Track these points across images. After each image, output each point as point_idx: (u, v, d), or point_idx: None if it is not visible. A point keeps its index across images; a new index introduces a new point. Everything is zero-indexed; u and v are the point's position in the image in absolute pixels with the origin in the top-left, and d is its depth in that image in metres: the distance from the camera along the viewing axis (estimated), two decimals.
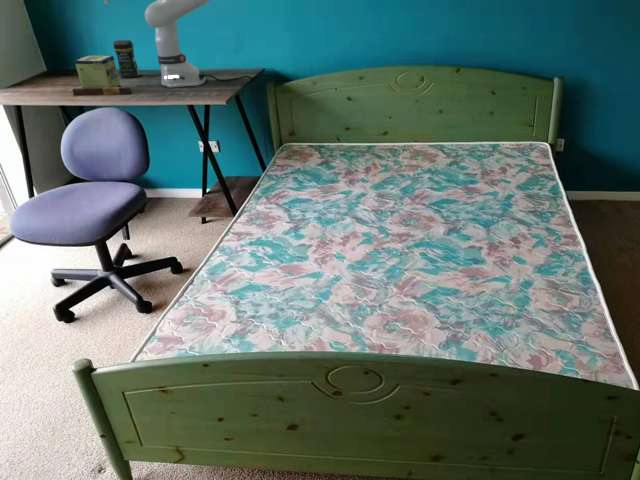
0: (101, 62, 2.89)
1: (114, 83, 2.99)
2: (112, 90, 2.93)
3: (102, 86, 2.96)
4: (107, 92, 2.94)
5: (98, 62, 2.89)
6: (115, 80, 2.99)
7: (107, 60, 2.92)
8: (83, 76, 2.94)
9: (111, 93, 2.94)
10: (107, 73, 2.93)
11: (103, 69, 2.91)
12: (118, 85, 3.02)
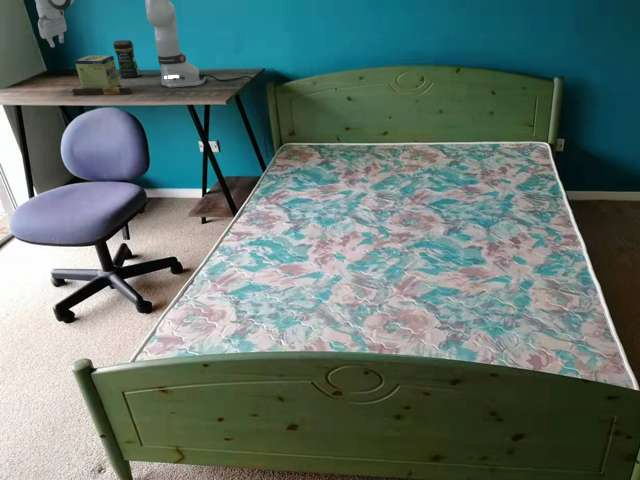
0: (101, 62, 2.89)
1: (114, 83, 2.99)
2: (112, 90, 2.93)
3: (102, 86, 2.96)
4: (107, 92, 2.94)
5: (98, 62, 2.89)
6: (115, 80, 2.99)
7: (107, 60, 2.92)
8: (83, 76, 2.94)
9: (111, 93, 2.94)
10: (107, 73, 2.93)
11: (103, 69, 2.91)
12: (118, 85, 3.02)
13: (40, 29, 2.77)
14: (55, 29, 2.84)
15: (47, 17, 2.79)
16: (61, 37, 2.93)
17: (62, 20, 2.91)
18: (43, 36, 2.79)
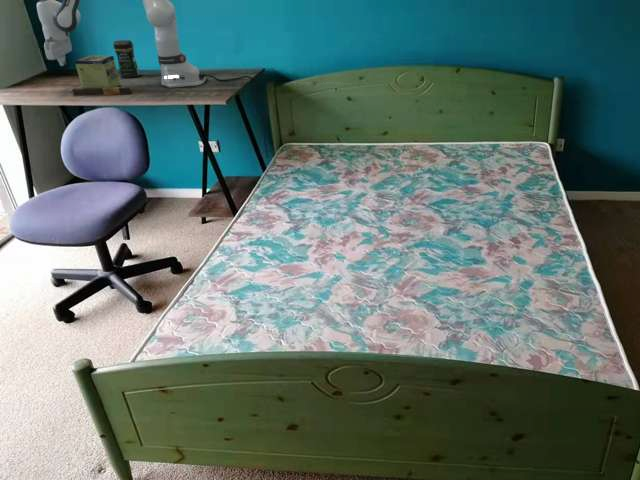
0: (101, 62, 2.89)
1: (114, 83, 2.99)
2: (112, 90, 2.93)
3: (102, 86, 2.96)
4: (107, 92, 2.94)
5: (98, 62, 2.89)
6: (115, 80, 2.99)
7: (107, 60, 2.92)
8: (83, 76, 2.94)
9: (111, 93, 2.94)
10: (107, 73, 2.93)
11: (103, 69, 2.91)
12: (118, 85, 3.02)
13: (46, 51, 2.82)
14: (60, 50, 2.90)
15: (53, 39, 2.84)
16: (63, 59, 2.95)
17: (67, 41, 2.96)
18: (49, 57, 2.84)
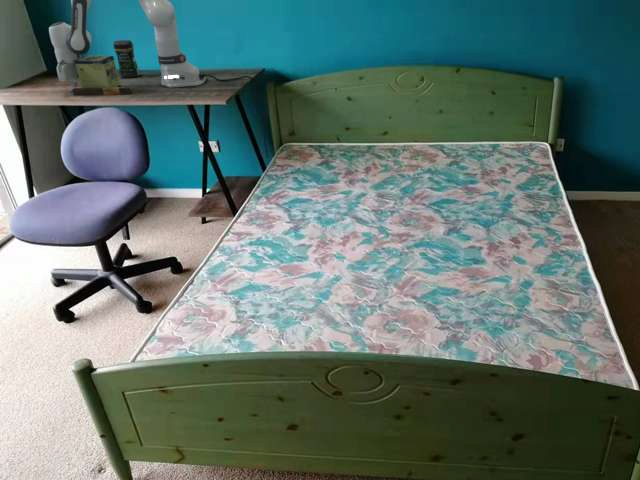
0: (101, 62, 2.89)
1: (114, 83, 2.99)
2: (112, 90, 2.93)
3: (102, 86, 2.96)
4: (107, 92, 2.94)
5: (98, 62, 2.89)
6: (115, 80, 2.99)
7: (107, 60, 2.92)
8: (83, 76, 2.94)
9: (111, 93, 2.94)
10: (107, 73, 2.93)
11: (103, 69, 2.91)
12: (118, 85, 3.02)
13: (59, 73, 2.88)
14: (72, 72, 2.95)
15: (65, 61, 2.90)
16: (75, 81, 3.01)
17: None
18: (61, 80, 2.89)
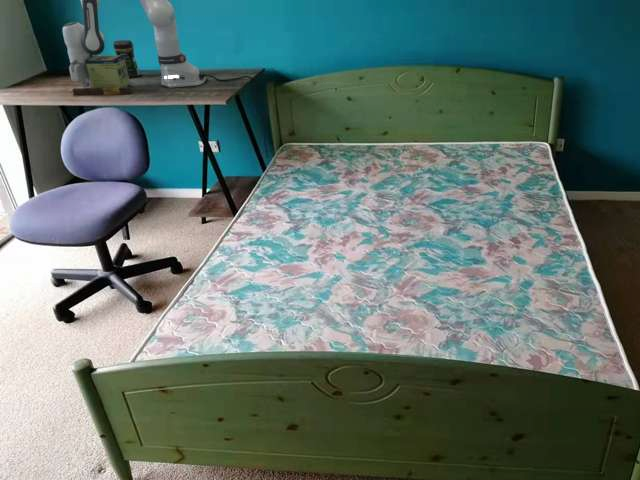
0: (113, 61, 2.90)
1: (125, 82, 3.00)
2: (112, 90, 2.93)
3: (113, 85, 2.96)
4: (107, 92, 2.94)
5: (110, 61, 2.90)
6: (125, 79, 3.00)
7: (118, 59, 2.93)
8: (94, 76, 2.94)
9: (111, 93, 2.94)
10: (119, 72, 2.94)
11: (115, 68, 2.91)
12: (128, 84, 3.03)
13: (71, 73, 2.88)
14: (84, 72, 2.95)
15: (78, 61, 2.90)
16: (87, 81, 3.00)
17: None
18: (74, 80, 2.89)
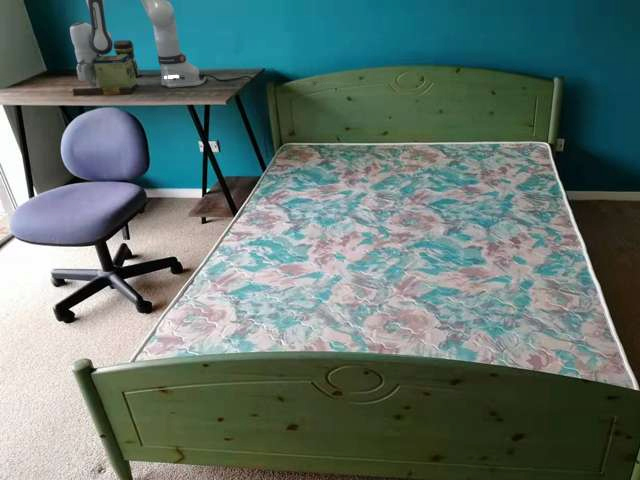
0: (122, 61, 2.90)
1: (132, 82, 3.01)
2: (112, 90, 2.93)
3: (122, 85, 2.97)
4: (107, 92, 2.94)
5: (118, 61, 2.90)
6: (133, 79, 3.01)
7: (126, 59, 2.94)
8: (102, 76, 2.94)
9: (111, 93, 2.94)
10: (127, 71, 2.95)
11: (124, 68, 2.92)
12: (135, 83, 3.04)
13: (78, 73, 2.88)
14: (91, 72, 2.95)
15: (85, 61, 2.90)
16: (93, 81, 3.00)
17: None
18: (81, 79, 2.89)
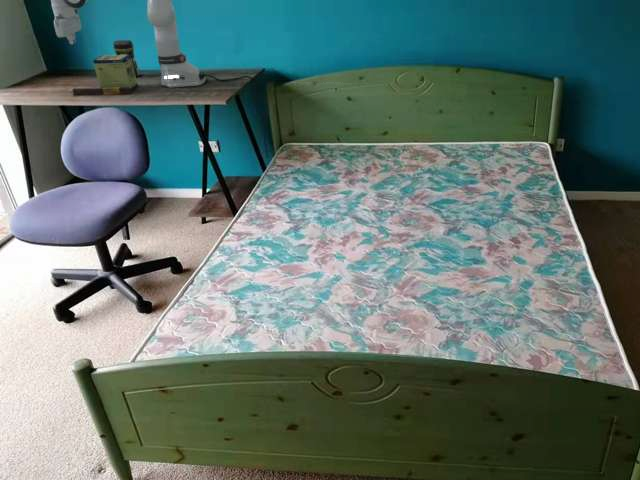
0: (122, 61, 2.90)
1: (133, 82, 3.01)
2: (112, 90, 2.93)
3: (122, 85, 2.97)
4: (107, 92, 2.94)
5: (119, 61, 2.90)
6: (133, 79, 3.01)
7: (126, 58, 2.94)
8: (102, 76, 2.94)
9: (111, 93, 2.94)
10: (128, 71, 2.95)
11: (124, 68, 2.92)
12: (135, 83, 3.04)
13: (56, 28, 2.77)
14: (70, 28, 2.85)
15: (62, 16, 2.80)
16: (73, 37, 2.90)
17: (77, 19, 2.91)
18: (59, 35, 2.79)
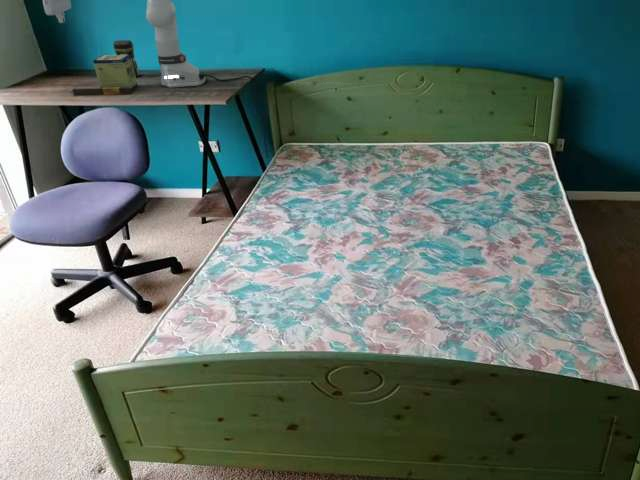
0: (122, 61, 2.90)
1: (133, 82, 3.01)
2: (112, 90, 2.93)
3: (122, 85, 2.97)
4: (107, 92, 2.94)
5: (119, 61, 2.90)
6: (133, 79, 3.01)
7: (126, 59, 2.94)
8: (102, 76, 2.94)
9: (111, 93, 2.94)
10: (128, 71, 2.95)
11: (124, 68, 2.92)
12: (135, 83, 3.04)
13: (45, 6, 2.78)
14: (59, 6, 2.85)
15: None
16: (62, 16, 2.90)
17: None
18: (48, 13, 2.79)
